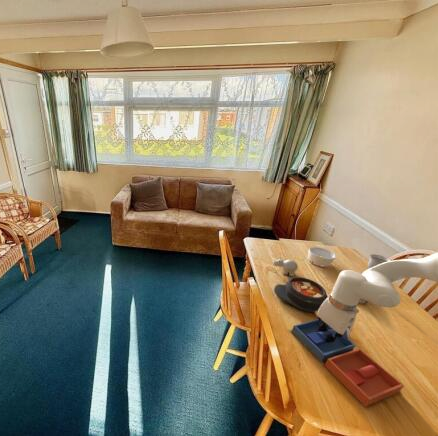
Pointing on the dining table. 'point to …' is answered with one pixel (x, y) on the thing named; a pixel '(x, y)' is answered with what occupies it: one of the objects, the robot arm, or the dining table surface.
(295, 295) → the casserole
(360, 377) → the red spoon
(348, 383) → the red bin
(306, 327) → the blue bin
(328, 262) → the ramekin
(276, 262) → the chubby cartoon animal
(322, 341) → the blue spoon
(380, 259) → the chalice
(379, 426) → the dining table surface
